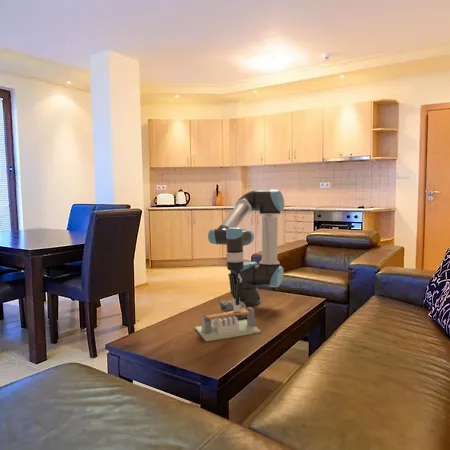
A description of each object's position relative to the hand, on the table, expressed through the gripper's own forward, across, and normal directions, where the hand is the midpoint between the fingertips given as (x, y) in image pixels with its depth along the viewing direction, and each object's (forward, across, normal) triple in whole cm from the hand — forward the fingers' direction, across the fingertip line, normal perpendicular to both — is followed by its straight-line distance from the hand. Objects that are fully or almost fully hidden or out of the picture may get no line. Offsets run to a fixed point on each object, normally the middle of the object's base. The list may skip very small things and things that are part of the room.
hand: (236, 311), depth 180 cm
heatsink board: (+9, 0, -5) cm, 10 cm away
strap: (+1, 0, -5) cm, 5 cm away
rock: (+9, -17, +5) cm, 20 cm away
